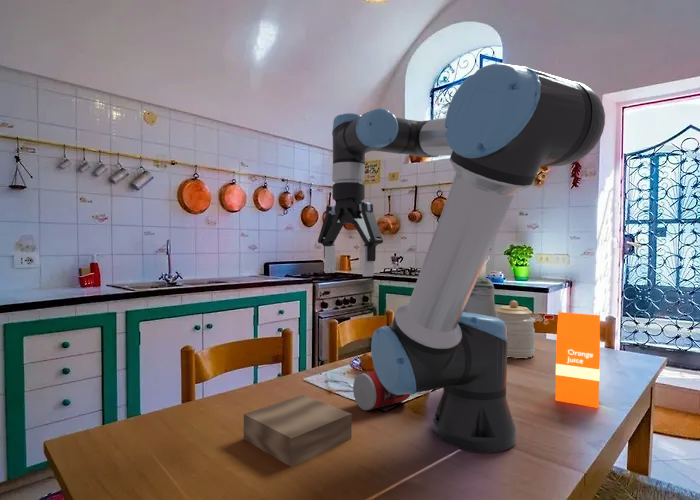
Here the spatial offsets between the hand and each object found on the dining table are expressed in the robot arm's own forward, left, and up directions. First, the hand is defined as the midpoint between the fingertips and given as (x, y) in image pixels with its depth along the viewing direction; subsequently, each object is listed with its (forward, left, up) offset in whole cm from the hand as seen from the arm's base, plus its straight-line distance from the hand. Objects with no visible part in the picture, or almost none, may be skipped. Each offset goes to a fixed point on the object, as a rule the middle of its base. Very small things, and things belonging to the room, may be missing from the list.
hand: (348, 274), depth 100 cm
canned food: (-10, -8, -25) cm, 28 cm away
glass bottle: (-18, -27, -29) cm, 43 cm away
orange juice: (-36, -40, -29) cm, 61 cm away
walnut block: (-10, +21, -29) cm, 37 cm away
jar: (-6, -67, -29) cm, 73 cm away
